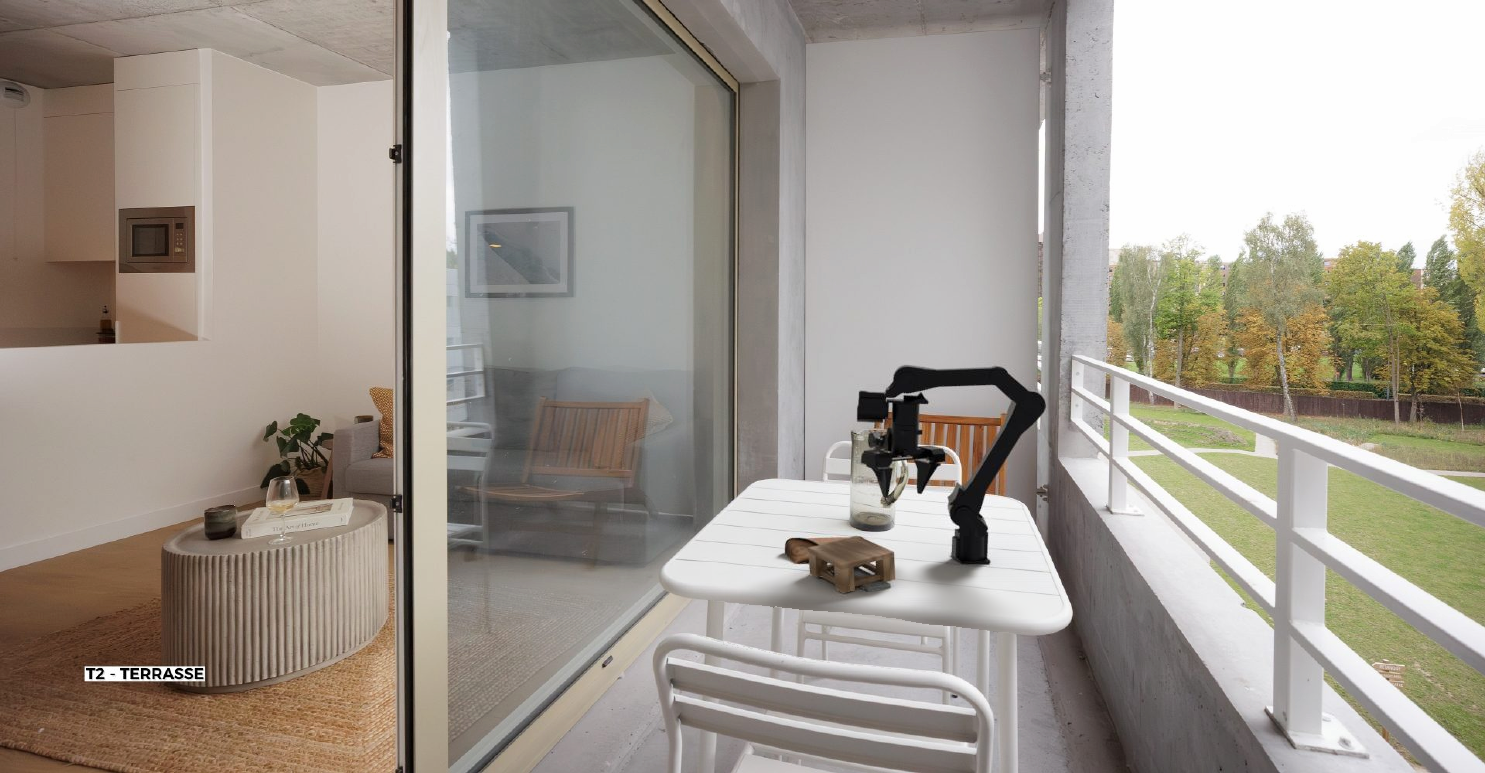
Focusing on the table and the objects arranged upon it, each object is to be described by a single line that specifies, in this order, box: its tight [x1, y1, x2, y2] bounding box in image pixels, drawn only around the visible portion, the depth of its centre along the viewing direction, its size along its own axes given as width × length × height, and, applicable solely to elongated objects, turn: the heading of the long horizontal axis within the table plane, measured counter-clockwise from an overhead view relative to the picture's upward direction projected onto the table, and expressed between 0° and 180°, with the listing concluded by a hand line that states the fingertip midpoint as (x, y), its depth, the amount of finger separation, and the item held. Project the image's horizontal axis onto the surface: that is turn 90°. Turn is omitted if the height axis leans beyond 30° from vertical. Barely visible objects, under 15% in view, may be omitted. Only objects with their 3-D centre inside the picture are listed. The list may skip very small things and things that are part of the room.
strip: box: [832, 567, 891, 592], centre depth 153 cm, size 5×14×1 cm, turn 26°
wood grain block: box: [808, 535, 896, 594], centre depth 152 cm, size 6×12×12 cm
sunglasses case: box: [784, 535, 864, 565], centre depth 167 cm, size 18×7×7 cm, turn 99°
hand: (902, 495), depth 168 cm, fingers open, 9 cm apart
